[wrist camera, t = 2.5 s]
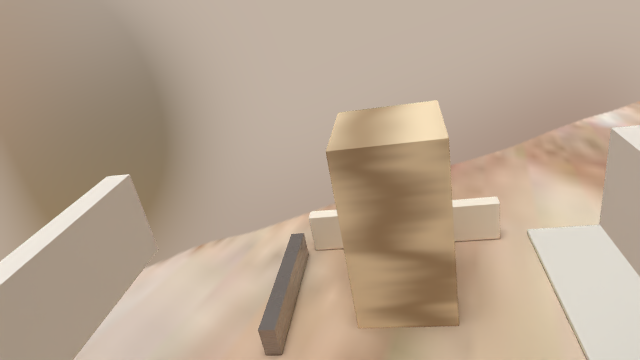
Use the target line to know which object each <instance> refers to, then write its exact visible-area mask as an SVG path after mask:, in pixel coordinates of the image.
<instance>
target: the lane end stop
mask: <svg viewBox="0 0 640 360" xmlns="http://www.w3.org/2000/svg"><path fill="white" fill-rule="evenodd" d="M308 255H309V254H308V249H307V245H306V240H305V236H304V233H300V234H291V237H290V240H289V243H288V246H287V249H286V251H285V254H284V257H283V260H282V263H281V266H280V269H279V272H278V274H277V277H276V280H275V283H274V286H273V289H272V292H271V295H270V298H269V300H268V303H267V306H266V309H265V312H264V315H263V318H262V321H261V324H260V326H259V329H258V332H259V335H260V338H261V341H262V344H263V347H264V351H265V354H266V355H282V352H283V348H284V344H285V341H286V337H287V333H288V329H289V326H290V322H291V318H292V314H293V311H294V307H295V303H296V300H297V296H298V292H299V288H300V285H301V281H302V277H303V273H304V270H305V266H306V262H307V258H308Z"/></svg>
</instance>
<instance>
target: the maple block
mask: <svg viewBox="0 0 640 360" xmlns="http://www.w3.org/2000/svg"><path fill="white" fill-rule="evenodd" d="M449 152H450V150H449V137H448V134H447V131H446V127H445V124H444V120H443V117H442V114H441V111H440V107H439V104H438V101H437V100H435V101H427V102H419V103H412V104H404V105H396V106H387V107H380V108H372V109H363V110H355V111H347V112H340V113H338V114H337V118H336V121H335V124H334V127H333V130H332V133H331V136H330V140H329V143H328V146H327V149H326V156H327V161H328V166H329V172H330V177H331V183H332V188H333V194H334V199H335V204H336V210H337V215H338V221H339V226H340V231H341V237H342V242H343V248H344V253H345V258H346V264H347V269H348V275H349V280H350V285H351V291H352V296H353V302H354V307H355V312H356V318H357V323H358V328H390V327H428V326H459V316H458V297H457V279H456V261H455V242H454V224H453V206H452V187H451V169H450V153H449Z"/></svg>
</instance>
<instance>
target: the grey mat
mask: <svg viewBox="0 0 640 360" xmlns="http://www.w3.org/2000/svg"><path fill="white" fill-rule="evenodd" d="M527 234H528V236H529V238H530V240H531V242H532V244H533V247H534V249H535V251H536V253H537V255H538V257H539V259H540V261H541V263H542V266H543V268H544V270H545V272H546V274H547V276H548V278H549V280H550V283H551V285H552V287H553V289H554V291H555V293H556V295H557V297H558V299H559V302H560V304H561V306H562V308H563V310H564V312H565V314H566V316H567V318H568V321H569V323H570V325H571V327H572V329H573V331H574V333H575V335H576V337H577V340H578V342H579V344H580V346H581V348H582V350H583V352H584V354H585V356H586V359H587V360H640V277H639V275H638V274H637V273H636V271H635V270H634V269H633V267H632V266H631V265H630V263H629V262H628V261H627V260H626V258H625V257H624V256H623V254H622V253H621V252H620V250H619V249H618V248H617V246H616V245H615V244H614V242H613V241H612V240H611V239H610V237H609V236H608V235H607V233H606V232H605V231H604V229H603V228H602V227H601V225H587V226H572V227H557V228H542V229H527Z"/></svg>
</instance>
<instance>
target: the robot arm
mask: <svg viewBox="0 0 640 360" xmlns="http://www.w3.org/2000/svg"><path fill="white" fill-rule="evenodd" d="M599 224H600V225H601V227H602V228H603V229H604V231H605V232H606V233H607V235H608V236H609V237H610V239H611V240H612V241H613V242H614V244H615V245H616V246H617V248H618V249H619V250H620V252H621V253H622V254H623V256H624V257H625V258H626V260H627V261H628V262H629V263H630V265H631V266H632V267H633V269H634V270H635V271H636V273H637V274H638V275H639V277H640V125H637V126H626V127H616V128H611V133H610V141H609V149H608V157H607V165H606V174H605V182H604V190H603V198H602V206H601V215H600V223H599ZM157 251H158V247H157V245H156V242H155V239H154V236H153V234H152V232H151V229H150V227H149V223H148V221H147V218H146V216H145V213H144V210H143V208H142V205H141V203H140V200H139V197H138V195H137V192H136V190H135V187H134V185H133V182H132V179H131V177H130V175H129V174H128V175H118V176H107V177H106V178H105V179H103V180H102V181H101V182H100V183H98V184H97V185H96V186H95V187H94V188H92V189H91V190H90V191H88V192H87V193H86V194H84V195H83V196H82V197H81V198H80V199H78V200H77V201H76V202H74V203H73V204H72V205H71V206H70V207H68V208H67V209H66V210H64V211H63V212H62V213H61V214H59V215H58V216H57V217H56V218H54V219H53V220H52V221H51V222H49V223H48V224H47V225H46V226H44V227H43V228H42V229H40V230H39V231H38V232H37V233H35V234H34V235H33V236H32V237H30V238H29V239H28V240H27V241H26V242H24V243H23V244H22V245H20V246H19V247H18V248H17V249H15V250H14V251H13V252H12V253H10V254H9V255H8V256H7V257H5V258H4V259H3V260H2V261H0V360H73V359H74V358H75V356H76V355H77V354H78V353H79V351H80V350H81V349H82V347H83V346H84V345H85V344H86V342H87V341H88V340H89V338H90V337H91V336H92V335H93V333H94V332H95V331H96V329H97V328H98V327H99V326H100V324H101V323H102V322H103V320H104V319H105V318H106V317H107V315H108V314H109V313H110V311H111V310H112V309H113V308H114V306H115V305H116V304H117V302H118V301H119V300H120V299H121V297H122V296H123V295H124V293H125V292H126V291H127V290H128V288H129V287H130V286H131V284H132V283H133V282H134V281H135V279H136V278H137V277H138V275H139V274H140V273H141V272H142V270H143V269H144V268H145V266H146V265H147V264H148V262H149V261H150V260H151V259H152V257H153V256H154V255H155V254H156V252H157Z"/></svg>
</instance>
